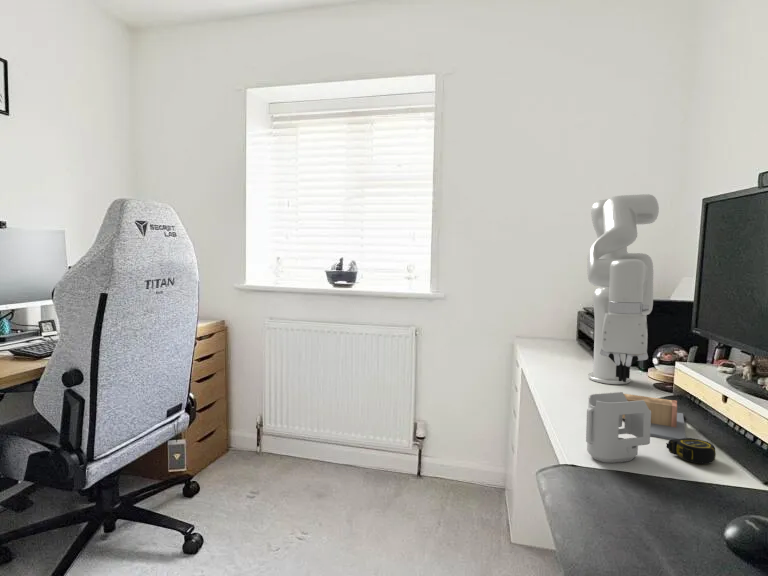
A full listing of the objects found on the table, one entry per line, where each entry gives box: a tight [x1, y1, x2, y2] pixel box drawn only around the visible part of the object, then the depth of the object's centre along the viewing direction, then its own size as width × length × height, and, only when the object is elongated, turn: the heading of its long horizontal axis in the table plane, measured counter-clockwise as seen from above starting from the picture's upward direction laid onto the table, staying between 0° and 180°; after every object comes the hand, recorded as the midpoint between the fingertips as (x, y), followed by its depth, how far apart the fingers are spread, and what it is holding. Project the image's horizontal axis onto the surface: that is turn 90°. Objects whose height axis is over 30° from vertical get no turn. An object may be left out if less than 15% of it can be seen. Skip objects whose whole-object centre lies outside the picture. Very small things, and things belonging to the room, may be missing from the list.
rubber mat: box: [650, 412, 687, 441], centre depth 109 cm, size 20×12×1 cm, turn 147°
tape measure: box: [665, 437, 717, 465], centre depth 89 cm, size 7×7×4 cm
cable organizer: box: [585, 391, 651, 464], centre depth 90 cm, size 7×13×12 cm, turn 103°
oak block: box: [622, 392, 678, 427], centre depth 110 cm, size 5×5×12 cm
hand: (622, 380), depth 112 cm, fingers closed
